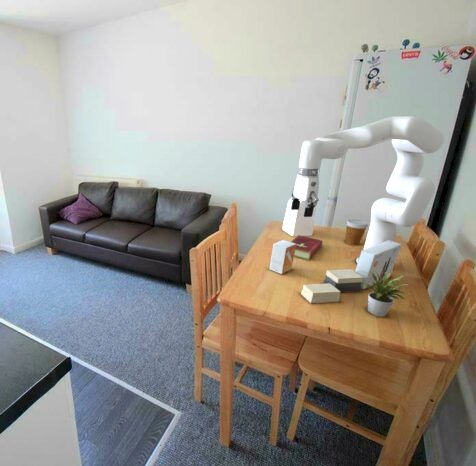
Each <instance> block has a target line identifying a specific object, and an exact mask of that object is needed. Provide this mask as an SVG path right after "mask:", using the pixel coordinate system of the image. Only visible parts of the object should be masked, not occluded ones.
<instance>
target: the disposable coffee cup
mask: <svg viewBox="0 0 476 466" xmlns="http://www.w3.org/2000/svg"><path fill="white" fill-rule="evenodd" d="M345 225H346V228H345V229H346V230H345V239H344V240H345V243H346V244H348V245H351V246H358V245H360V243H361V241H362V239H363V236H364V234H365V232H366V229H367V228H368V227H369V225H368V222H366V221H364V220H361V219H348V220H347V221H346V222H345Z"/></svg>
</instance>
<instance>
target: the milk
mask: <svg viewBox="0 0 476 466" xmlns="http://www.w3.org/2000/svg"><path fill="white" fill-rule="evenodd" d="M299 201H300V205H299V210H291V206H292V197H291V198H289V200H288V201H287V204H286V210H285V214H284V219H283V222H282V228H281V230H282V231H283V232H285V233H287V234H288V235H290V236H291V237H297V236H298V235H301V236H306V237H310V236H313V232H314V224H315V217H316V209H317V205H316V206H315V208H314V209H313V215H312V217H304V212H305V207H306V203H305V202H304V201H302V200H299ZM310 203H311V202H309V204H310Z"/></svg>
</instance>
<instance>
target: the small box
mask: <svg viewBox="0 0 476 466" xmlns="http://www.w3.org/2000/svg"><path fill="white" fill-rule="evenodd" d="M295 248H296V244H295V243H292V242H291V241H288V240H285V239H282V240H279V241H277V242H275V243H273V244H272V249H271V250H272V251H271V257H270V263H269V264H270V265H269V270H271V271H273V272H275V273H278V274H281V275H283V274H285V273H286V272H289V271H291V270H292V269H293V263H294V257H295V256H294V253H295Z"/></svg>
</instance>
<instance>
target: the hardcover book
mask: <svg viewBox="0 0 476 466" xmlns="http://www.w3.org/2000/svg"><path fill="white" fill-rule="evenodd" d="M290 242H292V243H295V244H296V248H295V253H294V257H295V258H298V259H303V260H306V261H309V260H310V259H311V258H312V257H313V256H314V255H315V254H316V253H317V252H318V251H319V250H320V249H321V248H322V246H323V239H320V238H314V237H310V236H301V235H298V236H295V237H294V238H293V239H292V240H291V241H290Z"/></svg>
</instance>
